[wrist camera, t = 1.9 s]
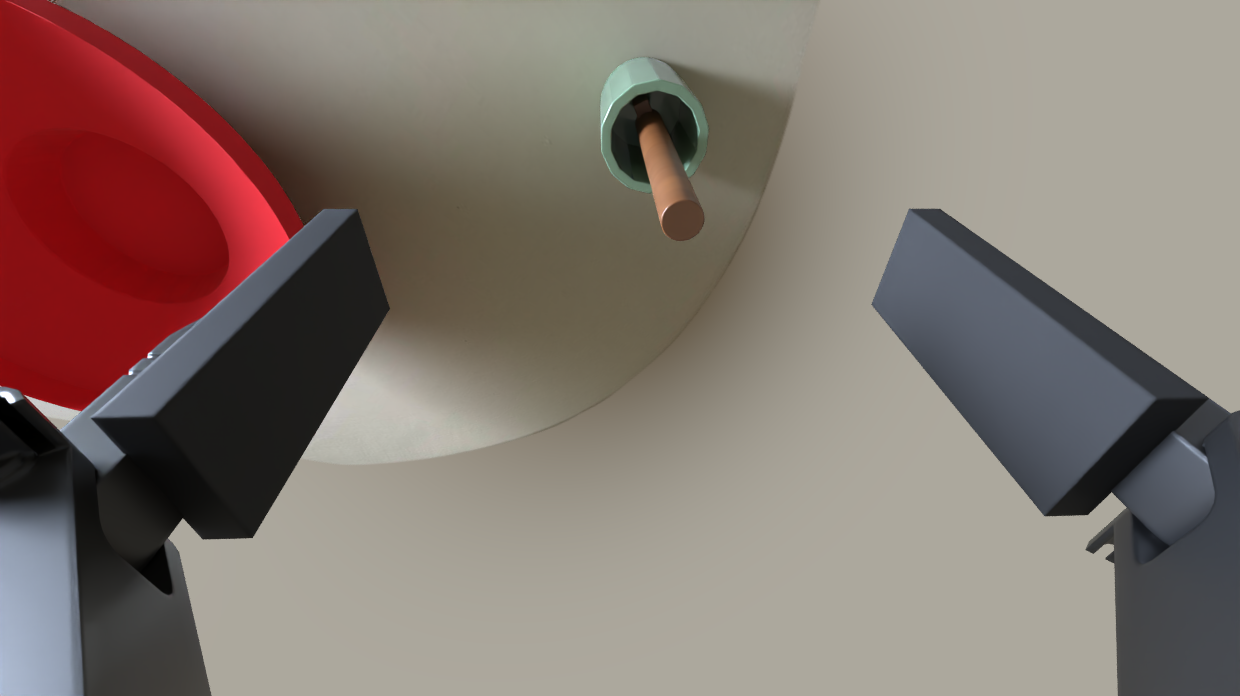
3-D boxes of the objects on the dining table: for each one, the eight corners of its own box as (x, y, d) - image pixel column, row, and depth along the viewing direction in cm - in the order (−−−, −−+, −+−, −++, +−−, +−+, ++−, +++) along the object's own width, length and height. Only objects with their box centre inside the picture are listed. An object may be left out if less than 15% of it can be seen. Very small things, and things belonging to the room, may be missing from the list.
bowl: (-6, 302, 44) (-136, 375, 36) (-220, -142, 27) (-558, -187, 19) (355, 379, 51) (312, 453, 44) (368, 67, 34) (300, 97, 26)
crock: (667, 38, 34) (687, 57, 27) (697, 129, 38) (721, 167, 30) (584, 82, 35) (582, 111, 28) (621, 165, 39) (627, 209, 32)
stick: (646, 80, 35) (690, 176, 19) (663, 124, 36) (715, 245, 21) (623, 92, 35) (647, 195, 19) (641, 135, 37) (675, 261, 21)
